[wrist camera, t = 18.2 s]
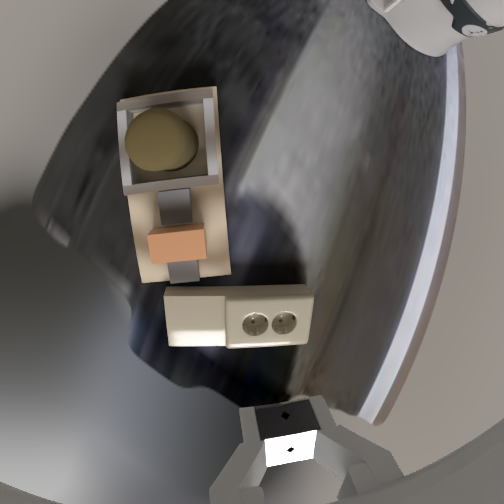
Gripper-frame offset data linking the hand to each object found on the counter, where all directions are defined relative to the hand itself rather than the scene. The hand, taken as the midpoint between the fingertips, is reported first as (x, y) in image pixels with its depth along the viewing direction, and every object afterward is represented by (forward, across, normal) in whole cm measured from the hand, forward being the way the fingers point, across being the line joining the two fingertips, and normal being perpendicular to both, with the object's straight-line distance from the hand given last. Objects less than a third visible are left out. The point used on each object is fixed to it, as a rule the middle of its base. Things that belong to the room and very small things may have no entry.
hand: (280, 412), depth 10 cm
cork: (+26, +6, -11) cm, 29 cm away
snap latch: (+26, +6, 0) cm, 26 cm away
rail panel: (+27, +6, -6) cm, 28 cm away
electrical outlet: (+28, 0, +11) cm, 30 cm away
